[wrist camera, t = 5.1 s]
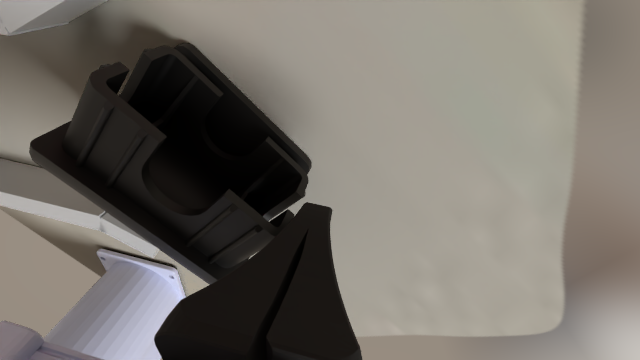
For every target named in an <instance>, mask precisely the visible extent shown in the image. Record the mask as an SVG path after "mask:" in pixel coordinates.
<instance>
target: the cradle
mask: <svg viewBox="0 0 640 360" xmlns="http://www.w3.org/2000/svg"><path fill="white" fill-rule="evenodd" d="M106 1H108V0H0V34H1V35H7V36H11V35H16V34H21V33H26V32H31V31H36V30H41V29H46V28H51V27H56V26H61V25H66V24H69V23H68V22H70V21H72V20H74V19H75V18H77V17H79V16H81V15H83V14H84V13H86V12H88V11H90V10H92V9H94V8H95V7H97V6H99V5H101V4H103V3H104V2H106ZM0 206H4V207H8V208H12V209H16V210H20V211H24V212H28V213H31V214H35V215H39V216H43V217H47V218H51V219H55V220H59V221H63V222H67V223H71V224H75V225H79V226H83V227H87V228H90V229H94V230H98V231H101V232H103V233H105V234H107V235H109V236H111V237H113V238H115V239H117V240H119V241H121V242H122V243H124V244H126V245H128V246H130V247H132V248H134V249H136V250H138V251H140V252H142V253H144V254H146V255H147V256H149V257H151V258H154V257H155V255H156V254H157V253H158V252H159V251H160V249H158V248H157V247H155V246H154V245H153V244H151V243H150V242H148V241H147V240H145V239H144V238H143V237H141V236H140V235H138V234H137V233H135V232H134V231H133V230H131V229H130V228H128V227H127V226H125V225H124V224H123V223H121V222H120V221H118V220H117V219H115V218H114V217H113V216H111V215H110V214H108V213H107V212H105V211H104V210H103V209H101V208H100V207H98V206H97V205H95V204H94V203H93V202H91V201H90V200H88V199H87V198H85V197H84V196H83V195H81V194H80V193H78V192H77V191H75V190H74V189H73V188H71V187H70V186H68V185H67V184H65V183H64V182H63V181H61V180H60V179H58V178H57V177H55V176H54V175H53V174H51V173H50V172H48V171H47V170H45V169H44V168H40V167H36V166H31V165H27V164H23V163H18V162H14V161H10V160H5V159H1V158H0Z"/></svg>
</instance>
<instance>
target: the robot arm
mask: <svg viewBox="0 0 640 360" xmlns="http://www.w3.org/2000/svg"><path fill="white" fill-rule="evenodd" d="M331 215H332V209H331V208H330V207H326V206H322V205H317V204H313V203H308V202H306V203H304V205H303V206H302V208H301V209H300V210H299V211H298V213H297V214H296V215H295V216H294V218H293V219H292V220H291V221H290V222H289V223H288V224H287V225H286V226H285V227H284V229H283V230H282V231H281V232H280V233H279V234H278V235H277V236H276V237H275V238H273V239H272V240H271V241H270V242H269V243H268V244H267V245H266V246H265V247H264V248H262V249H261V250H260V251H259V252H258V253H256V254H255V255H254V256H253V257H251V258H250V259H249V260H247V261H246V262H245V263H243V264H242V265H241V266H239V267H238V268H236V269H235V270H233V271H232V272H230V273H229V274H227V275H225V276H224V277H222V278H221V279H219V280H217V281H216V282H214V283H212V284H211V285H209V286H207V287H205V288H203V289H201V290H199V291H197V292H195V293H193V294H192V295H190V296H188V297H186V296H185V293H184V290H183V287H182V284H181V281H180V277H179V274H178V271H177V270H176V269H175V268H173V267H170V266H166V265H163V264H159V263H155V262H151V261H147V260H143V259H140V258H136V257H132V256H128V255H124V254H121V253H117V252H113V251H109V250H105V249H99V250H98V251H97V252H96V253H97V255H98V257H99V259H100V261H101V263H102V264H103V266H104V268H105V270H106V273H105V274H104V275H103V276H102V277H101V278H100V279H99V280H98V281H97V282H96V283H95V284H94V285H93V286H92V288H91V289H90V290H89V291H88V292H87V293H86V294H85V295H84V296H83V297H82V298H81V299H80V300H79V301H78V302H77V303H76V305H75V306H74V307H73V308H72V309H71V310H70V311H69V312H68V313H67V314H66V315H65V316H64V317H63V318H62V319H61V320H60V321H59V323H58V324H57V325H56V326H55V327H54V328H53V329H52V330H51V331H50V332H49V333H48V334H47V335H46V336H45V337H44V338H43V337H42V336H41V335H40V334H39V333H37V332H36V331H34V330H32V329H30V328H27V327H24V326H21V325H18V324H15V323H11V322H8V321H1V322H0V360H160V359H161V357H162V359H163V360H362V356H361V350H360V346H359V344H358V342H357V339H356V337H355V334H354V332H353V329H352V327H351V324H350V322H349V319H348V316H347V313H346V310H345V307H344V304H343V301H342V298H341V294H340V291H339V287H338V283H337V279H336V274H335V269H334V264H333V258H332V250H331V240H330V221H331Z"/></svg>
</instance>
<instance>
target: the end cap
mask: <svg viewBox="0 0 640 360" xmlns="http://www.w3.org/2000/svg"><path fill="white" fill-rule="evenodd" d="M128 72H129V69H128V68H127V67H125V66H124V65H123V64H122V63H121V62H118V63H115V64H112V65H109V64H107V65H101V66H100V68H99V70H96V71H94V72H93V73H91V75H90V77H89V80H88V82H87V84H86V87H85V89H84V92H83V94H82V97H81V99H80V101H79V104H78V106H77V109H76V111H75V113H74V116H73V118H72V121H70V122H68V123H66V124H64V125H62V126H60V127H58V128H56V129H54V130H52V131H50V132H48V133H46V134H44V135H41V136H39V137H37V138H35V139H34V140H32V141H31V143H30V151H29V153H30V155H31V158H32V160H33V161H34V162H35V163H37V164H38V165H40V166H41V167H43V168H44V169H45V170H47V171H48V172H50V173H51V174H53V175H54V176H55V177H57V178H58V179H60V180H61V181H63V182H64V183H65V184H67V185H68V186H70V187H71V188H73V189H74V190H75V191H77V192H78V193H80V194H81V195H83V196H84V197H85V198H87V199H88V200H90V201H91V202H93V203H94V204H95V205H97V206H98V207H100V208H101V209H103V210H104V211H105V212H107V213H108V214H110V215H111V216H113V217H114V218H115V219H117V220H118V221H120V222H121V223H123V224H124V225H125V226H127V227H128V228H130V229H131V230H133V231H134V232H135V233H137V234H138V235H140V236H141V237H143V238H144V239H145V240H147V241H148V242H150V243H151V244H153V245H154V246H155V247H157V248H158V249H160V250H161V251H162V252H164V253H165V254H167V255H168V256H170V257H171V258H172V259H174V260H175V261H177V262H178V263H180V264H181V265H182V266H184V267H185V268H187V269H188V270H190V271H191V272H192V273H194V274H195V275H197V276H198V277H200V278H201V279H202V280H204V281H205V282H207V283H208V284H210V285H211V284H212V283H214V282H216V281H217V280H219V279H221V278H222V277H224V276H225V275H227V274H229V273H230V272H232V271H233V270H235V269H236V268H238V267H239V266H241V265H242V264H243V263H245V262H246V261H247V260H248V259H249V257H250V256H251V255H253V254H255V253H256V252H258V251H260V250H261V249H262V248H264V247H265V246H266V245H267V244H268V243H269V242H270V241H271V240H272V239H273V238H275V237H276V236H277V235H278V234H279V233H280V232H281V231H282V230H283V229H284V227H285V226H286V225H287V224H288V223H289V222H290V221H291V220H292V219H293V217H294V214H293V213H292V212H291V211H290V210H286V211H285V212H283V213H282V214H280V215H279V216H277V217H276V218H274V219H273V220H271V221H270V222H268V221H269V220H270V219H272V218H273V217H275V216H276V215H278V214H279V213H281V212H282V211H284V210H285V209H287V208H288V207H289V206H291V205H292V204H294V203H295V202H297V201H298V200H300V199H301V198H303V197H304V196H305V189H306V187H307V184H308V176H307V174H308V172H309V171H310V169H311V161H310V159H309V157H308V156H306V155H305V154H304V153H303V152H302V151H301V150H300V149H299V148H298V147H297V146H296V145H295V144H294V143H293V142H292V141H291V140H290V139H289V138H288V137H287V136H286V135H285V134H284V133H283V132H282V131H281V130H280V129H279V128H278V127H277V126H276V125H275V124H274V123H273V122H272V121H271V120H270V119H268V118H267V117H266V116H265V115H264V114H263V113H262V112H261V111H260V110H259V109H258V108H257V107H256V106H255V105H254V104H253V103H252V102H251V101H250V100H249V99H248V98H247V97H246V96H245V95H244V94H243V93H242V92H241V91H240V90H239V89H238V88H237V87H236V86H235V85H234V84H233V83H232V82H230V81H229V80H228V79H227V78H226V77H225V76H224V75H223V74H222V73H221V72H220V71H219V70H218V69H217V68H216V67H215V66H214V65H213V64H212V63H211V62H210V61H209V60H208V59H207V58H206V57H205V56H204V55H203V54H202V53H201V52H200V51H199V50H198V49H197V48H196V47H194V46H193V45H191V44H189V43H183V44H180V45H177V46H176V47H175V48H172V47H169V46H160V47H158V48H155V49H145V50H144V51H143V53H142V55H141V57H140V59H139V61H138V63H137V65H136V67H135V69H134V70H133V72H132V74H131V76H130V78H129V80H128V82H127V84H126V86H125V88H124V90H123V91H122V93H121V94H120V95H119V96H118V95H117V93H118V91H119V89H120V87H121V85H122V83H123V82H124V80H125V78H126V76H127V74H128Z"/></svg>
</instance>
